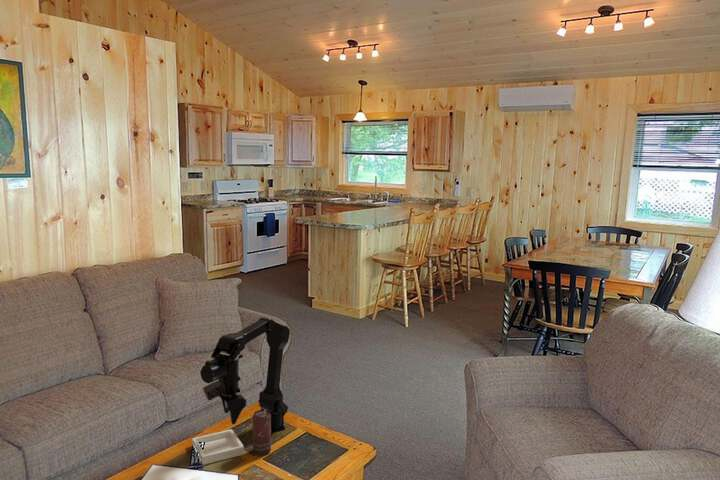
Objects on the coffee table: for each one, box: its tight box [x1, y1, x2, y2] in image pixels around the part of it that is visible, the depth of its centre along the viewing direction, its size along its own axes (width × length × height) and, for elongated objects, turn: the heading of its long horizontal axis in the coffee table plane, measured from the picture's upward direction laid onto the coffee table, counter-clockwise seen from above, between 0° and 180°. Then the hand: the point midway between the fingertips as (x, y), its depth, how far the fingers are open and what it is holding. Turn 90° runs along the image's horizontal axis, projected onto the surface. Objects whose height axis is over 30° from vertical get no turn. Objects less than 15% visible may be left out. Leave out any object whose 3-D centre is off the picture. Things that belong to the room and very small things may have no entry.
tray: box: [191, 429, 245, 466], centre depth 181 cm, size 14×14×3 cm
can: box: [252, 409, 272, 457], centre depth 180 cm, size 6×6×14 cm
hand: (229, 418), depth 176 cm, fingers open, 9 cm apart
